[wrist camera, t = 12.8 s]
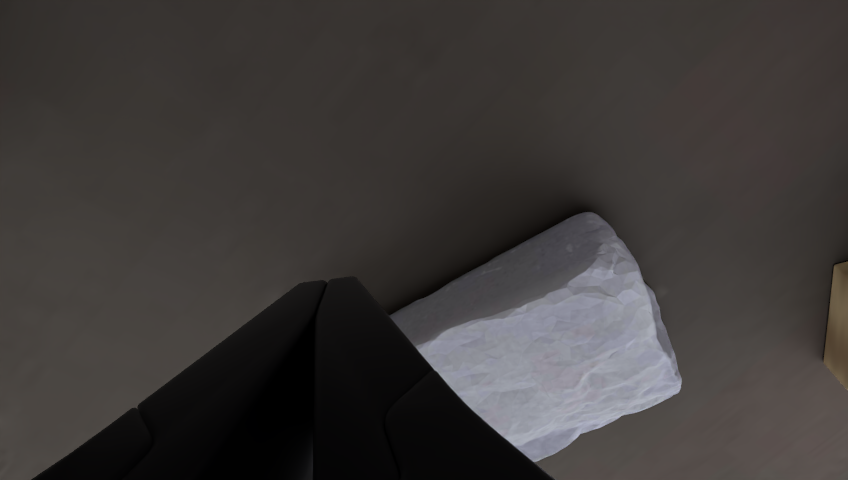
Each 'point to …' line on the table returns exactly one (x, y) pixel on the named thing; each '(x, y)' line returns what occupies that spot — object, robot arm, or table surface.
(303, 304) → the robot arm
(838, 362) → the birch block
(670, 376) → the stone block
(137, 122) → the table surface
